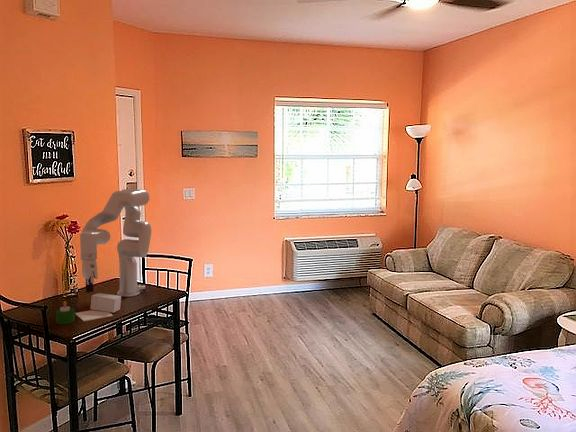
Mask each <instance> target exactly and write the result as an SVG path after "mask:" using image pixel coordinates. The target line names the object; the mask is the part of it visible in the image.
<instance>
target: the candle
mask: <svg viewBox="0 0 576 432" xmlns="http://www.w3.org/2000/svg"><path fill="white" fill-rule="evenodd" d="M67 304H68V302H67V301H66V300H65V301H63V302H62V305H63V306H61V307H60V308H57V309H56V310H55V323H56V324H58V325H69V324H71V323H72V324H73V323H74V322H75V321H76V314H75V313H76V312H75V311H76V310H75V308H73V307H70V306H67Z"/></svg>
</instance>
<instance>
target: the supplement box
mask: <svg viewBox="0 0 576 432" xmlns="http://www.w3.org/2000/svg"><path fill="white" fill-rule="evenodd" d="M90 299H91V300H90V310H99V311H106V312H109V313H111V314H112V313H115V312H118V311H120V310H121V304H122V296H118V295H117V294H109V293H104V292H98V293H95V294H92V295H91V298H90Z"/></svg>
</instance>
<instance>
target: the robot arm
mask: <svg viewBox="0 0 576 432" xmlns="http://www.w3.org/2000/svg"><path fill="white" fill-rule="evenodd" d="M149 201H150V194H149V191H147V190H145V189H134V188H132V189H131V188H124V189H121V190H116V191H114V192H112V194H111V195H110V197H109V199H108V200H107V203H106V204H105V206H104V208H103V209H102V211H101V212H99V213H97V214H96V215H94V216H92V217H91V218H90V219H89V220H88V221H87V222H86V223H85V225H84V227H83V228H82V231H81V232H80V235H79V239H80V240H79V242H80V243H79V244H80V245H79V246H80V260H81V274H82V277H83V278H84V281H85V282H84V283H85V292H86V293H88V294H89V293H92V292H94V283H95V280H98V278H99V277H98V263H97V259H98V254H97V253H98V249H97V248H98V247H97V246H98V245H105V244H107V243H108V242H109V241H110V240H111V233H110V231H108V230H107V229H102V228H99V227H101V226H104V225H106V224H108V223H112V222H115V221H116V220H118V218H119V216H120V214H122V211H123V210H125V214H124V221H123V226H122V227H123V228H122V234H123V235H124V236H125V237H128V238H127V239H126V238H125V239H122V240H119V242H118V243H117V245H116V250H117V254H118V263H119V290H118V291H117V292H116V295H117V296H121V297H124V298H126V297H136V296H138V295H140V293H141V290H145V289H146V285H145V284H143V285H138V262H137V260H136V258H145V257H146V256H147V255H148V253H149V250H150V244H151V238H152V227H151V223H149V222H147V221H143V220H142V221H141V216H142V212H141V209H140V207H142V206H145V205H147V204H148V203H149ZM123 208H124V209H123ZM130 238H135V239H130ZM137 238H138V239H137Z"/></svg>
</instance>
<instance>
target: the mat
mask: <svg viewBox="0 0 576 432" xmlns="http://www.w3.org/2000/svg"><path fill="white" fill-rule="evenodd" d="M75 316H76V317H78V318H79V319H80V320H81V321H82V322H88V321H93V320H99V319H105V318H110V317H113V316H114V315H113V314H112V312H106V311H99V310H93V309H90V310H86V311H80V312H75Z"/></svg>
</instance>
